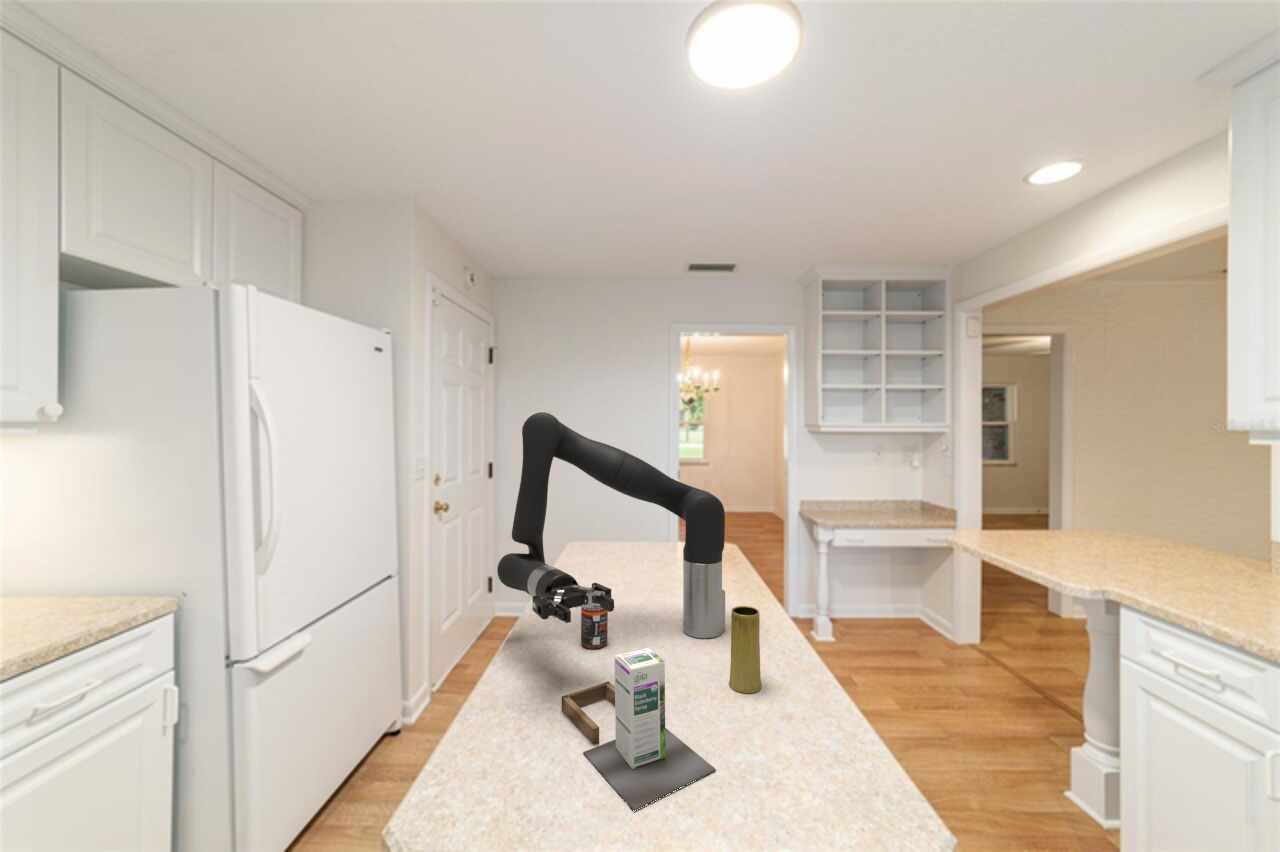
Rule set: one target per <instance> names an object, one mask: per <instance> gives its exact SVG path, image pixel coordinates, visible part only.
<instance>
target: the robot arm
mask: <svg viewBox="0 0 1280 852" xmlns="http://www.w3.org/2000/svg"><path fill="white" fill-rule="evenodd" d="M521 435H522V466H521V476H520V484H519V488H518V494H517V499H516V505H515V511H514V516H513V521H512V522H513V524H512V529H511V538H512V541H514V542H516V543H518V544H521V545H525V546H527V548H528V553H521V552H520V553H519V552H517V553H516V552H511V553H507V554H506V555H504V556H502V557H501V558H500V560H499V562H498V564H497V567H496V568H497V569H496V570H497V571H496V572H497V576H498V579H499V581H500V582H501V583H502V584H503V585H504V586H505V587H508V588H510V589H512V590H513V589H514V590H517V591H521V592H524V593H526V594H528V596H531V597H532V599H531V600H532V601H531V602H532V605H531V606H532V612H534V613H535V614H536V615H537V616H538V617H539V618H541V619H542V620H548V619H549V617H552V618H553V619H558V620H560V621H561V622H564V623H565V624H568V623H571V622H572V611H571V610H570V609H573V608H576V609H577V608H581V607H587V608H591V607H592V606H600V607H601V608H603V609H605V610H607V611H608V612H609V613H610V612H614V609H615V600H614V598H612V589H611V588H609V587H607V586H604V585H602V584H600V583H598V582H593V583H591V587H588V586H581V585H579V583H578V581H577V580H576V579H575V577H574V576H572V575H570V574H568V573H567V572H565V571H563V570H561V569H560V568H558V567H555V566H551V565H549V564H547V563H546V560H545V559H546V558H545V551H544V530H545V522H546V517H547V516H546V515H547V509H548V508H547V506H548V495H549V494H548V492H549V480H550V472H551V468H552V463H553V461H554V458H556V459H559V460H561V461H563V462H566V463H569V464H570V465H571V466H575V467H576V468H577V469H579V470H581V471H582V472H584V473H585V474H586V475H588V476H589V477H591V478H593V479H594V480H596V481H597V482H599V483H601V484H602V485H605V486H606V487H609V488H610V489H612V490H615V491H616V492H619V493H620V494H623V495H626V496H627V497H630V498H633V499H636V500H640V501H642V502H647V503H651V504H654V505H656V506H657V505H658V506H660V507H662V508H664V509H666V510H667V511H669V512H671V513H673V514H674V515H675V516H677V517H679V518H680V519H682V520H683V521H685V535H684V536H685V537H684V539H685V541H684V542H685V543H684V546H683V550H682V551H683V552H682V553H683V557H682V559H683V561H682V562H683V563H682V564H683V565H682V567H683V568H682V569H683V573H682V575H683V576H682V577H683V579H682V581H683V584H682V585H683V586H682V588H683V590H682V591H683V595H682V597H683V598H682V599H683V601H682V602H683V604H682V605H683V606H682V607H683V609H682V610H683V611H682V612H683V613H682V614H683V617H682V618H683V620H682V623H683V626H682V629H683V633H684V634H686V635H688V636H690V637H691V638H698V639H712V638H716V637H719V636H720V635H721V634H722V633H723V632H725V631H726V590H724V589H723V552H724V549H725V537H726V536H725V535H726V534H725V532H726V516H725V515H726V513H725V507H724V504H723V502H722V501H721V500H720V499H719V498H718V497H717V496H715V495H714V494H712V493H711V492H709V491H706V490H704V489H700V488H696V487H694V486H691V485H688V484H686V483H683V482H680V481H678V480H676V479H674V478H672V477H671V476H669V475H667V474H665V472H662V471H661V470H659V469H658V468H656V467H655V466H653V465H651V464H650V463H648V462H646V461H645V460H643V459H641V458H640V457H637V456H635V455H633V454H631V453H629V452H627V451H625V450H623V449H620V448H617V447H615V446H613V445H611V444H607V443H603V442H600V441H597V440H593V439H591V438H588V437H586V436H584V435H582V434H580V433H578V432H577V431H575V430H573V429H572V428H570V427H568V426H566V425H565V424H564V423H562V422H561V421H559V419H558V418H557V417H556V416H554V415H553V414H551V413H548V412H546V411H545V412H544V411H542V412H536V413H533V414H531V415H530V416H529V417H527V418H526V420H525V421H524V422H523V425H522V429H521ZM587 595H588V603H587V602H586V598H587ZM594 598H597V599H599V601H595V600H594Z"/></svg>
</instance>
